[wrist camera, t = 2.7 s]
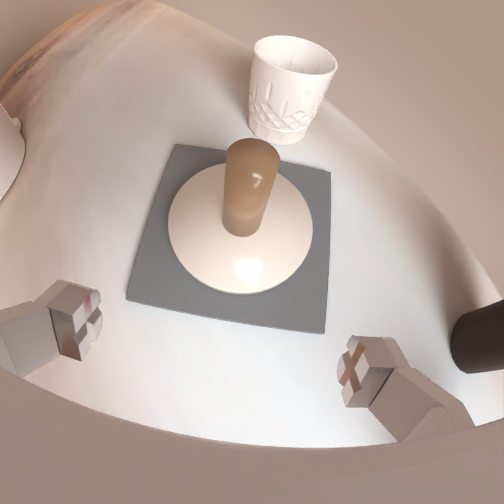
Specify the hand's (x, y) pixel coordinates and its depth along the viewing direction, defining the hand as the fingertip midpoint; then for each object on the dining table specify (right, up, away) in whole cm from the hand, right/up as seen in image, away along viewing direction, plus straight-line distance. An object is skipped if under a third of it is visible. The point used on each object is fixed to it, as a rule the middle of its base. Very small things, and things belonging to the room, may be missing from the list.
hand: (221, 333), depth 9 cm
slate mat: (0, +4, +17) cm, 18 cm away
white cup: (+4, +17, +23) cm, 29 cm away
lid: (0, +5, +16) cm, 17 cm away
